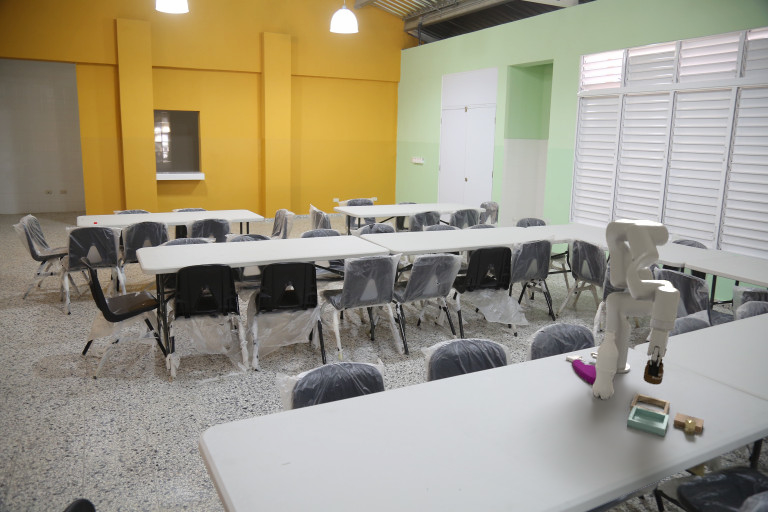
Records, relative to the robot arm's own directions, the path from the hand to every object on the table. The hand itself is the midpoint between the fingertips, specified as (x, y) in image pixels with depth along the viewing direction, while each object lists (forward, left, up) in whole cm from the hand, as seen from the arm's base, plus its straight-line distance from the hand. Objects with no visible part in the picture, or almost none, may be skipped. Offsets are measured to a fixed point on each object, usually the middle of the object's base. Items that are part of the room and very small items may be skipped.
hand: (654, 371), depth 198 cm
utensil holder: (0, 0, -4) cm, 4 cm away
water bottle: (-16, -1, -14) cm, 21 cm away
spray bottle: (-26, +19, -14) cm, 35 cm away
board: (+13, -6, -14) cm, 20 cm away
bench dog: (+13, -11, -14) cm, 22 cm away
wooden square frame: (0, -1, -14) cm, 14 cm away
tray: (+1, -13, -14) cm, 19 cm away
